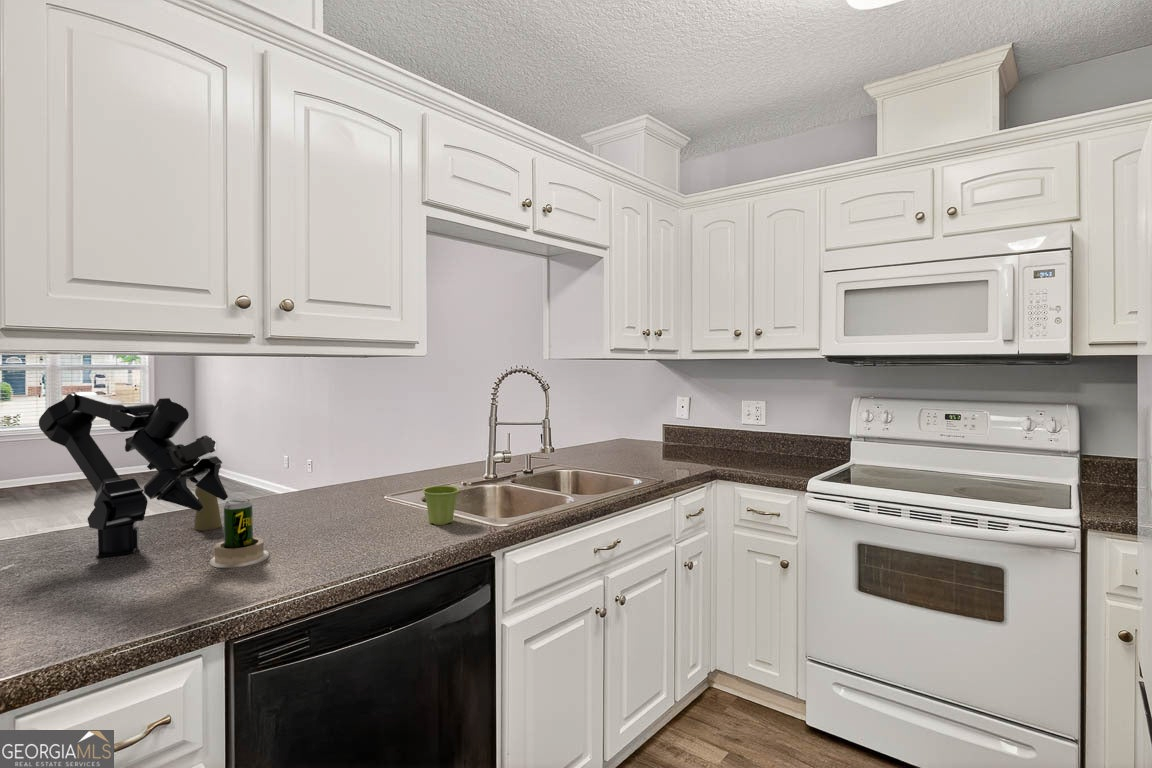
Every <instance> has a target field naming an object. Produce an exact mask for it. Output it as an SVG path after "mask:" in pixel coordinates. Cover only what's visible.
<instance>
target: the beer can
mask: <svg viewBox="0 0 1152 768" xmlns="http://www.w3.org/2000/svg"><path fill="white" fill-rule="evenodd" d="M253 517H254V514H253V503H252V499H250V498H236V499H230V500H227V501H225V502H224V505H223V539H224V540H223V541H224V548H227V549H235V548H243V547H248V546H252V545H253V537H254V528H253V526H254V524H253V523H254V522H253V521H254V519H253Z"/></svg>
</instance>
